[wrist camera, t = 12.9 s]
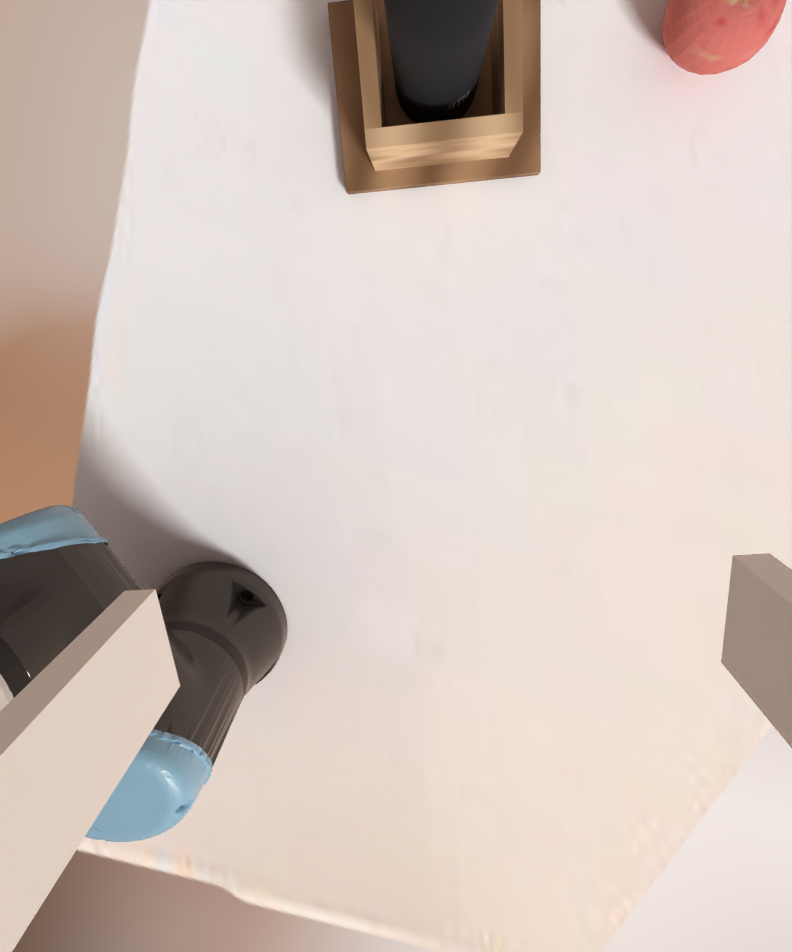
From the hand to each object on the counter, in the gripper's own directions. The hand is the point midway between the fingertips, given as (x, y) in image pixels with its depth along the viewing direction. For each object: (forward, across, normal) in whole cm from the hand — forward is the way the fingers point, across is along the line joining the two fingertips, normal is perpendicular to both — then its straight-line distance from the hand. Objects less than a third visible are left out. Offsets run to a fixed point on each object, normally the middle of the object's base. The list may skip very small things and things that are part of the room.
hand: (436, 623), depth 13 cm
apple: (+41, +22, +25) cm, 53 cm away
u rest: (+40, +2, +23) cm, 47 cm away
